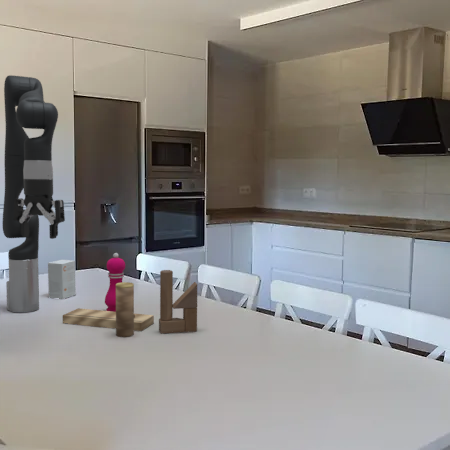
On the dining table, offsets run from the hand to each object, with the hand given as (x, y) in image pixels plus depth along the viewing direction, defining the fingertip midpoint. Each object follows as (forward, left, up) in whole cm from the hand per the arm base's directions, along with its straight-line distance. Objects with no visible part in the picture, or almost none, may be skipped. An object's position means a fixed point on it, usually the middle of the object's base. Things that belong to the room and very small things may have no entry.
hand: (39, 237), depth 153 cm
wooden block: (+33, +19, -28) cm, 47 cm away
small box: (-23, +47, -28) cm, 59 cm away
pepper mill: (+7, +31, -28) cm, 43 cm away
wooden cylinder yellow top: (+20, +12, -28) cm, 37 cm away
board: (+10, +20, -28) cm, 36 cm away
